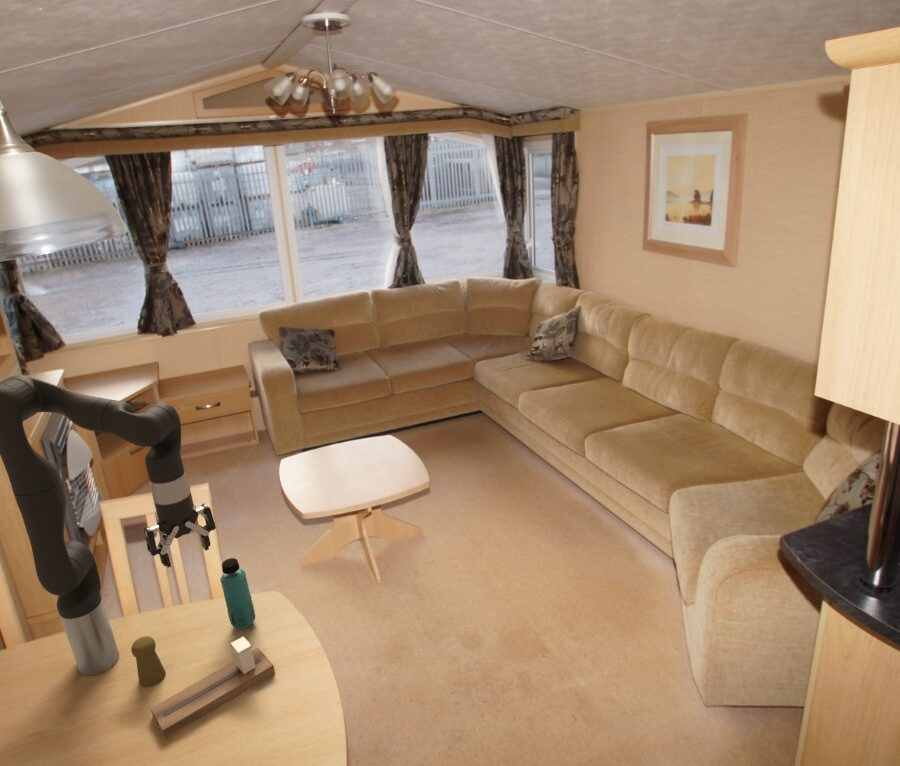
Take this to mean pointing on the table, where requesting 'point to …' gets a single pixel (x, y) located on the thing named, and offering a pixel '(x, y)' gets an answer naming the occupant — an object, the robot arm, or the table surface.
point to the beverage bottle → (237, 594)
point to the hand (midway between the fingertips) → (187, 557)
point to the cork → (148, 662)
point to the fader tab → (243, 655)
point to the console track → (209, 694)
